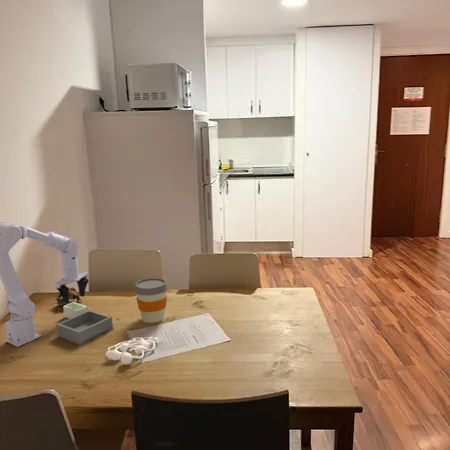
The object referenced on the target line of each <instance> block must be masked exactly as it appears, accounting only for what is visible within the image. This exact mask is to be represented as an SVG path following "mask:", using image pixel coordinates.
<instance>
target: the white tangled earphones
mask: <svg viewBox="0 0 450 450" xmlns="http://www.w3.org/2000/svg"><path fill="white" fill-rule="evenodd" d="M136 339H137V340H136ZM156 344H160V341H159V339H158V337H157V336H156V337H152V336H149V337H148V336H147V337H144V338H143V337H133V338H132V339H129V340H127V341H121V342H119V343H117V344H115V345H111V346H110V347H107V351H105V352H106V353H105V357H107V358H108V359H110V360H111V361H118V360H120V362H121V363H122V364H123V365H125V366H127V365H130V364H131V363H132V362H133V359H136V360H138V359H143V358H144V356H145V353H147V352H153V351H154V350H155V349H156ZM150 345H151V346H152V345H153V346H152V348H150ZM112 348H114V350H113V349H112ZM111 349H112V350H111ZM119 350H120V351H119ZM127 351H128V352H127ZM132 351H135V353H137V354H141V355H140V356H137V355H135V356H134V355H132V354H131V353H129V352H132Z"/></svg>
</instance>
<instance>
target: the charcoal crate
mask: <svg viewBox="0 0 450 450" xmlns="http://www.w3.org/2000/svg"><path fill="white" fill-rule="evenodd" d="M56 326H57V335H58V338H61V339H64V340H65V341H69V342H71V343H73V344H76V345H79V346H82V345H84V344H87V343H88V342H90V341H93V340H94V339H97V338H98V337H100V336H102V335H104V334H107V333H108V332H111V331H112V330H113V329H114V328H113V327H114V326H113V317H112V316H109V315H107V314H103V313H100V312H96V311H93V310H90V309H88V311H86V312H84V313H82V314H80V315H77V316H75V317H73V318H70V319H65V320H64V321H62V322H59V323H56Z"/></svg>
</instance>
